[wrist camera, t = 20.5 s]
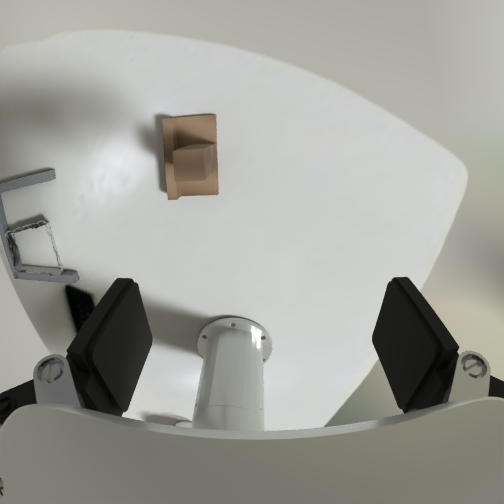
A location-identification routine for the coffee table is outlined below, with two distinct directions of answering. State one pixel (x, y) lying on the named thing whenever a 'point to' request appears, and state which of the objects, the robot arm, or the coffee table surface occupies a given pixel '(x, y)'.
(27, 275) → the bay
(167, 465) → the robot arm
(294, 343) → the coffee table surface
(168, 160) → the tan l-shaped bracket
